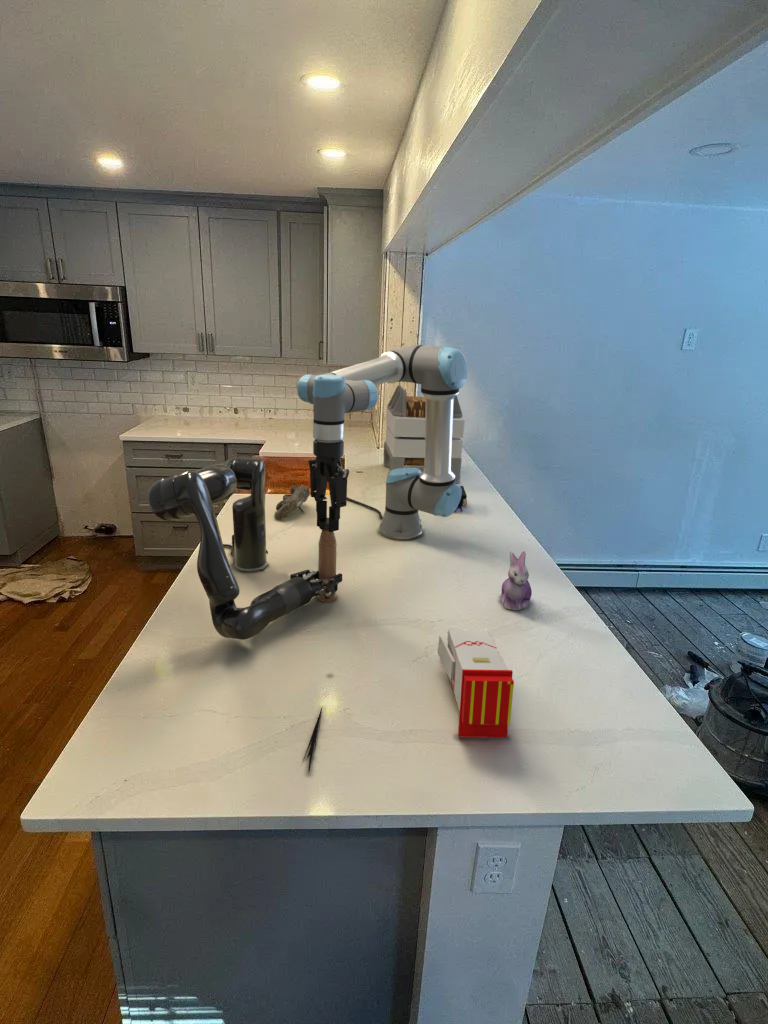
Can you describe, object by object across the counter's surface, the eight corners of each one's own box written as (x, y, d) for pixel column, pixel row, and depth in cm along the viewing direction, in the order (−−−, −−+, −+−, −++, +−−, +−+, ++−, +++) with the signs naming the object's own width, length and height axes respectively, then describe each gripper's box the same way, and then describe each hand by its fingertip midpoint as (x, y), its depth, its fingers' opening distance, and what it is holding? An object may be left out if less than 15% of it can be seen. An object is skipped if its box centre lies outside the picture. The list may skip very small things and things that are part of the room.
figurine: (514, 615, 149) (521, 563, 144) (490, 597, 158) (496, 548, 153) (541, 608, 153) (549, 557, 148) (516, 591, 162) (523, 543, 157)
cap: (337, 530, 146) (337, 523, 145) (319, 531, 145) (319, 524, 144) (335, 524, 150) (335, 517, 149) (318, 524, 149) (318, 517, 148)
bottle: (339, 596, 155) (340, 522, 148) (329, 603, 151) (330, 528, 144) (324, 591, 157) (325, 518, 150) (314, 598, 153) (314, 524, 146)
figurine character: (467, 516, 223) (461, 500, 237) (469, 499, 220) (463, 483, 233) (450, 516, 223) (446, 499, 236) (452, 498, 220) (447, 483, 233)
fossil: (279, 491, 226) (308, 470, 221) (295, 509, 228) (323, 489, 223) (264, 515, 206) (294, 493, 201) (281, 534, 209) (312, 514, 204)
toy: (488, 613, 130) (523, 677, 101) (484, 667, 133) (517, 744, 104) (435, 612, 130) (455, 676, 101) (432, 666, 133) (451, 743, 103)
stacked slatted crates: (382, 463, 289) (386, 382, 275) (445, 464, 293) (451, 384, 279) (390, 482, 257) (394, 392, 243) (460, 483, 261) (468, 394, 247)
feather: (331, 679, 122) (336, 673, 122) (307, 777, 96) (313, 769, 95) (324, 675, 122) (329, 669, 121) (298, 772, 95) (304, 764, 95)
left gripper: (310, 592, 136) (354, 568, 149) (268, 574, 144) (314, 554, 157) (310, 619, 139) (353, 594, 152) (269, 600, 146) (314, 578, 159)
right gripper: (363, 444, 136) (360, 534, 144) (319, 431, 148) (318, 515, 156) (339, 448, 131) (337, 541, 139) (295, 434, 143) (296, 521, 151)
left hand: (333, 573), depth 154 cm, fingers closed on bottle, 4 cm apart
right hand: (327, 527), depth 147 cm, fingers closed on cap, 4 cm apart
